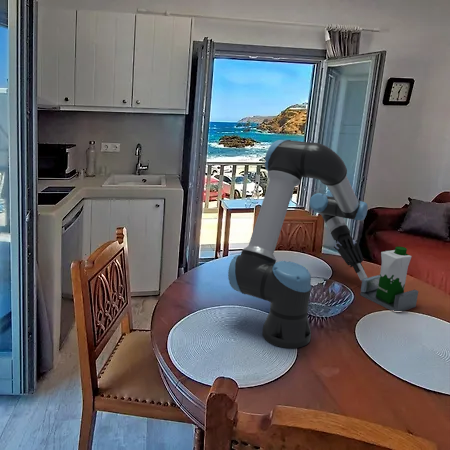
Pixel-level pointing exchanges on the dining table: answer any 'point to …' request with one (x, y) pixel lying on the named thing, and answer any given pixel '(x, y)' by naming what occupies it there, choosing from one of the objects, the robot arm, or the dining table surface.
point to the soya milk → (393, 273)
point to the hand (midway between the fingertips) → (364, 279)
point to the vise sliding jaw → (370, 283)
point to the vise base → (400, 303)
